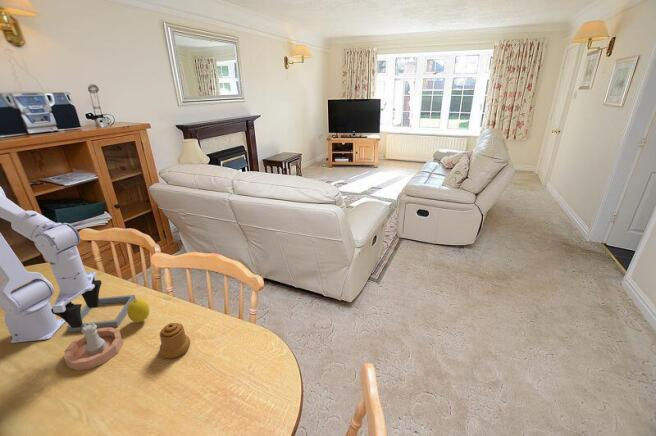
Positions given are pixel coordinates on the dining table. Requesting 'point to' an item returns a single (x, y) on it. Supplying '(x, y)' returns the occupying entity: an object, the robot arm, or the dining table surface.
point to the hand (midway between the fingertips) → (85, 316)
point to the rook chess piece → (93, 339)
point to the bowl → (82, 360)
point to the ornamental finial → (173, 340)
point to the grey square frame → (112, 322)
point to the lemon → (138, 310)
